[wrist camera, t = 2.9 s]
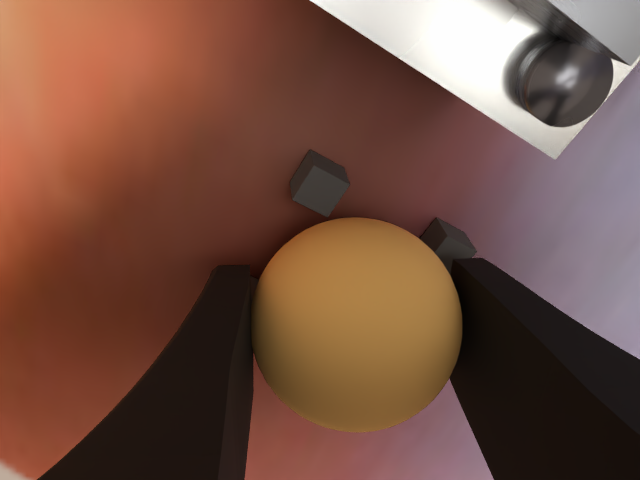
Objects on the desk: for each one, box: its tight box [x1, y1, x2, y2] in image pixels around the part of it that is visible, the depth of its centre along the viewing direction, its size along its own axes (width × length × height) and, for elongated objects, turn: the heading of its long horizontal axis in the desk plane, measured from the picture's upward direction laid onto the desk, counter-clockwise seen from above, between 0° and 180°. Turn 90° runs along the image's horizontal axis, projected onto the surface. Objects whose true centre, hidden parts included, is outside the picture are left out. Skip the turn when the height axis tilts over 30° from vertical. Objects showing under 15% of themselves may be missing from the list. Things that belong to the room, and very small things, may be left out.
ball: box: [251, 217, 462, 432], centre depth 10 cm, size 4×4×4 cm
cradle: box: [250, 150, 477, 304], centre depth 12 cm, size 4×4×1 cm
